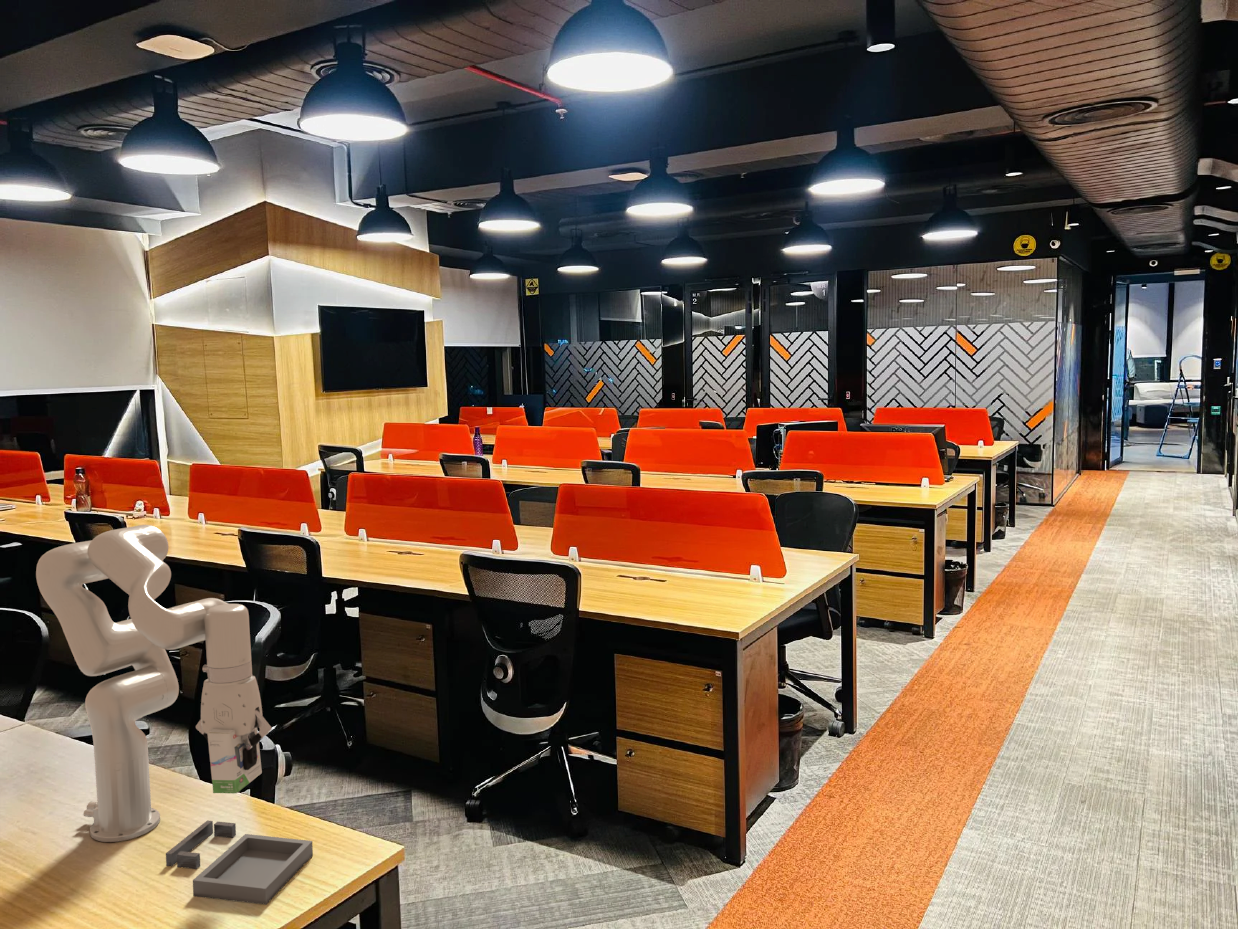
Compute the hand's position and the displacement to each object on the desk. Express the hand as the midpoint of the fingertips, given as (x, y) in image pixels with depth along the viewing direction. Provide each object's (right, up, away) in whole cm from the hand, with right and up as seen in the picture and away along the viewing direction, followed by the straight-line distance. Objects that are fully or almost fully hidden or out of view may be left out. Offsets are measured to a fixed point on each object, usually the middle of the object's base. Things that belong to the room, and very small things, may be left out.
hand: (235, 765), depth 167 cm
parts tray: (+4, -20, 0) cm, 21 cm away
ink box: (0, -4, 0) cm, 4 cm away
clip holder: (-10, -19, +8) cm, 23 cm away
